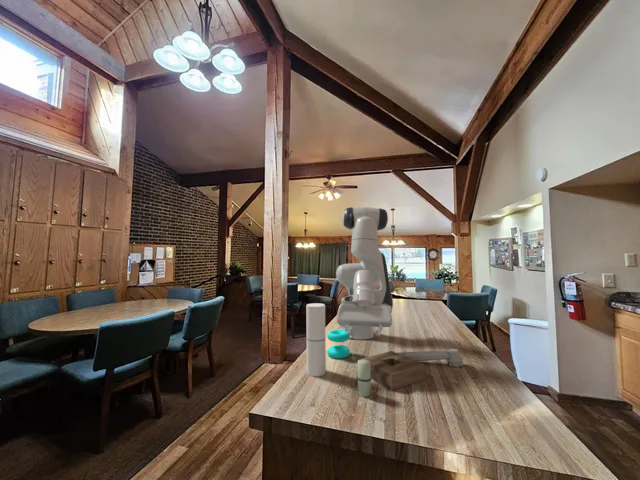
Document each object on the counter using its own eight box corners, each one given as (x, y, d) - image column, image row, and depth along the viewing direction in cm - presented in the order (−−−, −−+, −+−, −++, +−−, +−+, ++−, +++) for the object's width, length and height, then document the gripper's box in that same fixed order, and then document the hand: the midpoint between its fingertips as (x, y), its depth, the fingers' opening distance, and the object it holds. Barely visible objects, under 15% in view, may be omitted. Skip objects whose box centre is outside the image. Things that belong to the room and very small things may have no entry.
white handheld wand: (395, 350, 116) (458, 344, 112) (398, 366, 116) (461, 361, 111) (397, 354, 111) (462, 349, 107) (399, 371, 110) (466, 366, 106)
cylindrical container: (303, 374, 101) (303, 306, 103) (310, 367, 108) (310, 302, 109) (321, 377, 99) (321, 307, 100) (328, 369, 106) (327, 303, 107)
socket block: (360, 372, 103) (360, 358, 103) (391, 363, 111) (391, 350, 111) (392, 390, 89) (391, 374, 89) (425, 378, 97) (424, 364, 98)
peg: (355, 393, 88) (354, 361, 88) (365, 389, 90) (364, 358, 90) (363, 398, 84) (363, 365, 85) (373, 395, 86) (373, 362, 87)
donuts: (340, 327, 128) (354, 332, 120) (340, 349, 128) (354, 356, 119) (322, 331, 123) (335, 336, 114) (322, 354, 122) (335, 361, 114)
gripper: (390, 308, 108) (393, 341, 98) (338, 307, 112) (336, 338, 102) (391, 299, 104) (394, 332, 94) (337, 297, 108) (335, 329, 97)
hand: (364, 335), depth 98 cm, fingers open, 8 cm apart
